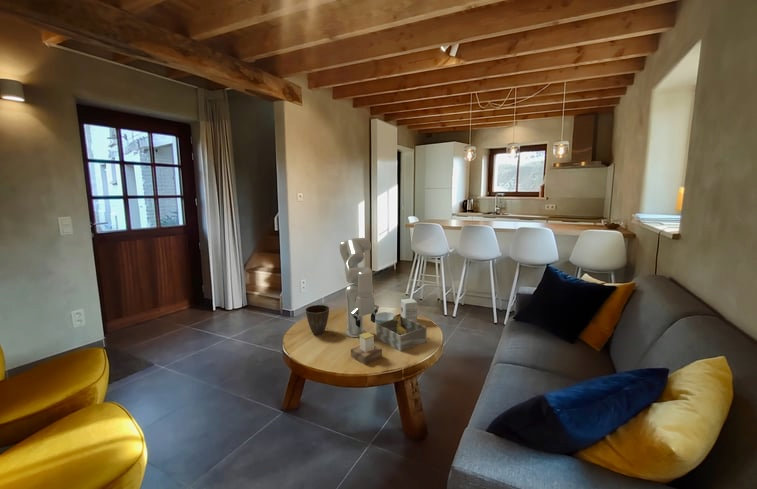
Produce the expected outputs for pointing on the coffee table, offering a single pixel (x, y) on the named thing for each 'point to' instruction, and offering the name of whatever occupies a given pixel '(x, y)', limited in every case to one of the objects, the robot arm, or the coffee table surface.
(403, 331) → the stuffed giraffe
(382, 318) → the chinaware
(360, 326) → the robot arm
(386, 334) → the grey crate
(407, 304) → the supplement box
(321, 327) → the plant pot
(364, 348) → the tea tin
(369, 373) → the coffee table surface
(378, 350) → the walnut box
